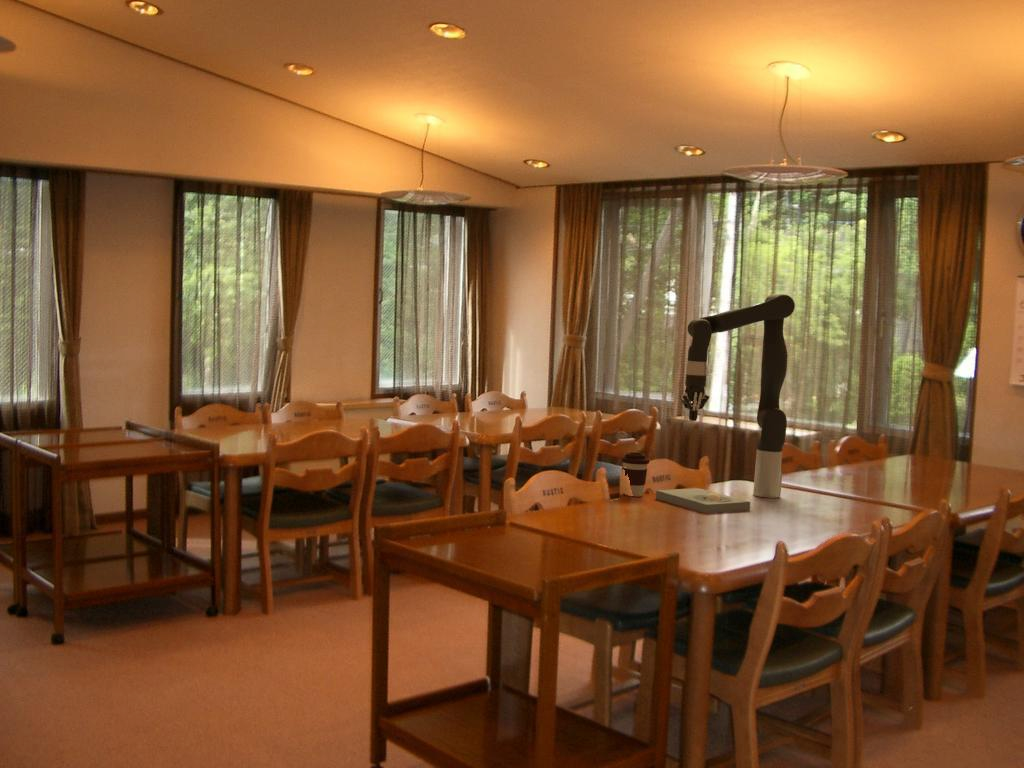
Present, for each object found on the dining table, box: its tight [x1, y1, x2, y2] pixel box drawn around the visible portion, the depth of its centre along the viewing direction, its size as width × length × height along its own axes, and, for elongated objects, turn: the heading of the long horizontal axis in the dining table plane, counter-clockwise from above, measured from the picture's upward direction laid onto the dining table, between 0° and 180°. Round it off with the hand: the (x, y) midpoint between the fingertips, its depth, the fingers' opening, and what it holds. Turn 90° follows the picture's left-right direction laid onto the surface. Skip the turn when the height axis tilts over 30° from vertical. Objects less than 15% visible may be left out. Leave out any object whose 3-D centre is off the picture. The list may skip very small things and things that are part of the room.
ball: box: [706, 492, 720, 501], centre depth 358 cm, size 5×5×5 cm
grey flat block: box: [655, 487, 751, 514], centre depth 363 cm, size 20×26×3 cm
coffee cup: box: [620, 452, 650, 498], centre depth 373 cm, size 10×10×15 cm
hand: (692, 420), depth 382 cm, fingers closed
